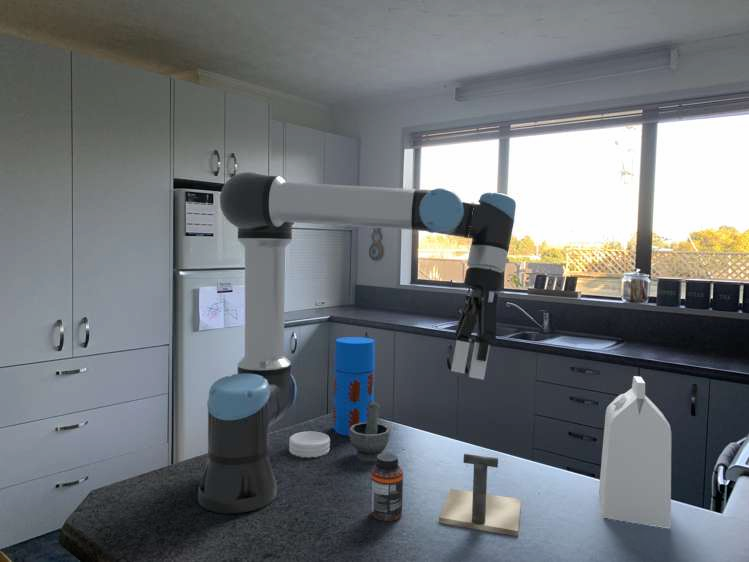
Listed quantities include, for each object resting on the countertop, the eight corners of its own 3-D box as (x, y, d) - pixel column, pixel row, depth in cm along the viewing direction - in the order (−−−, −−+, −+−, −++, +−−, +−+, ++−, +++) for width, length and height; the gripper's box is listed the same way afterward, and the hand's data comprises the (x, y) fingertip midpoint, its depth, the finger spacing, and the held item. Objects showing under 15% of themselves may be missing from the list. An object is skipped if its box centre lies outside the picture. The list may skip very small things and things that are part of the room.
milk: (670, 529, 100) (678, 390, 99) (602, 518, 104) (609, 383, 103) (659, 501, 112) (666, 375, 110) (598, 492, 115) (604, 370, 114)
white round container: (280, 451, 134) (280, 437, 134) (309, 441, 142) (309, 427, 142) (310, 462, 128) (310, 447, 128) (338, 450, 136) (338, 436, 136)
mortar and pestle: (385, 466, 126) (386, 415, 125) (345, 462, 128) (346, 412, 127) (392, 449, 137) (393, 402, 136) (355, 445, 139) (356, 399, 138)
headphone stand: (439, 523, 100) (441, 453, 100) (450, 493, 113) (453, 430, 112) (517, 537, 96) (520, 464, 96) (521, 504, 109) (523, 439, 108)
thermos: (380, 428, 152) (382, 339, 151) (358, 439, 143) (361, 345, 142) (348, 421, 158) (350, 335, 157) (325, 431, 149) (327, 340, 148)
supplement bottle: (383, 504, 107) (385, 447, 107) (408, 514, 104) (410, 455, 103) (364, 515, 103) (365, 456, 102) (389, 526, 99) (390, 465, 98)
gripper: (526, 267, 98) (506, 385, 96) (484, 279, 123) (467, 373, 121) (486, 258, 97) (464, 377, 95) (452, 272, 122) (434, 366, 120)
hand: (466, 375), depth 108 cm, fingers open, 13 cm apart
